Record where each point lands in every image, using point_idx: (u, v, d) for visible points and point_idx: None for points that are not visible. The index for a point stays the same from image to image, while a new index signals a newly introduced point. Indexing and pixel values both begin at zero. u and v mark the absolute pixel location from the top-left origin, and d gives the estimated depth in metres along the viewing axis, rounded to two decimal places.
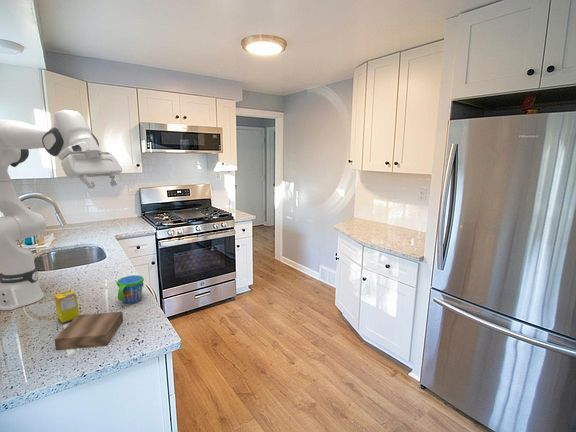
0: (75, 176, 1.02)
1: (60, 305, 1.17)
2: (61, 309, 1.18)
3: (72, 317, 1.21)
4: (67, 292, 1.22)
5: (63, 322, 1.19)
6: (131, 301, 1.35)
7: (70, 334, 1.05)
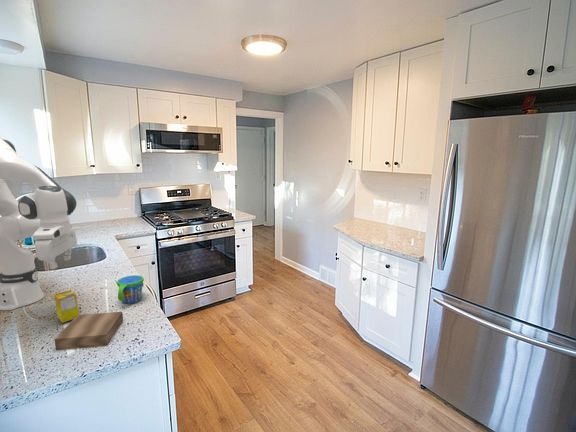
0: None
1: (60, 305, 1.17)
2: (61, 309, 1.18)
3: (72, 317, 1.21)
4: (67, 292, 1.22)
5: (63, 322, 1.19)
6: (131, 301, 1.35)
7: (70, 334, 1.05)
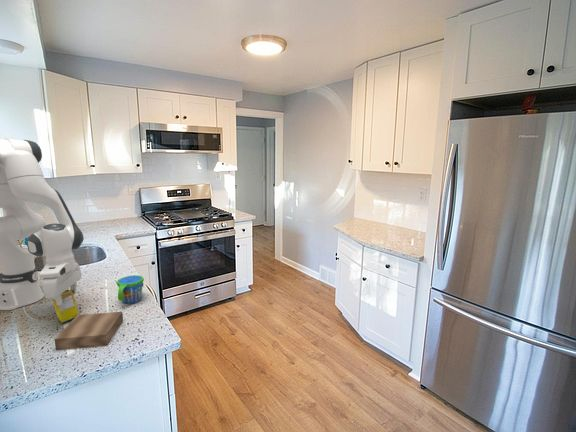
0: None
1: (58, 305, 1.17)
2: (59, 309, 1.18)
3: (71, 316, 1.21)
4: (64, 292, 1.21)
5: (63, 322, 1.19)
6: (131, 301, 1.35)
7: (70, 334, 1.05)
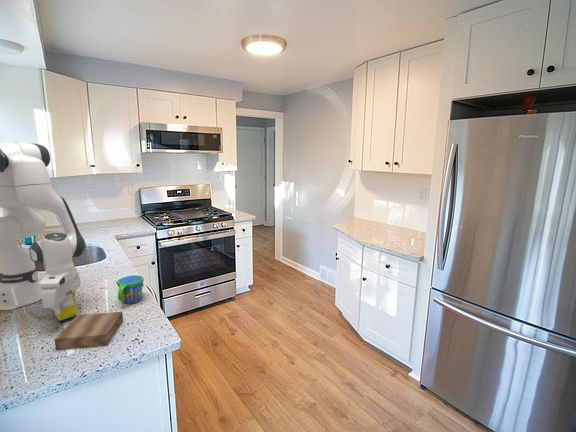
0: None
1: None
2: None
3: (69, 315, 1.21)
4: None
5: (60, 320, 1.19)
6: (131, 301, 1.35)
7: (70, 334, 1.05)
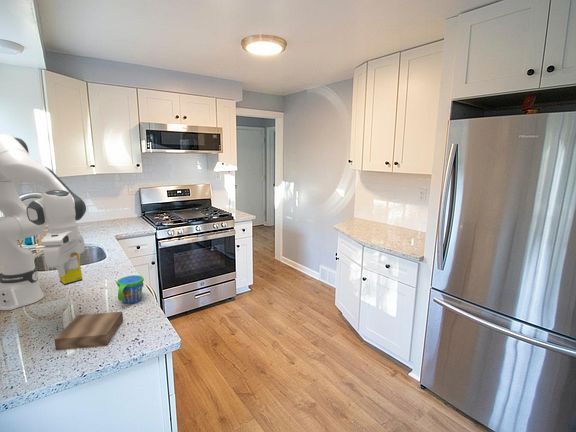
0: None
1: None
2: None
3: (75, 278, 1.13)
4: None
5: (65, 283, 1.11)
6: (131, 301, 1.35)
7: (70, 334, 1.05)
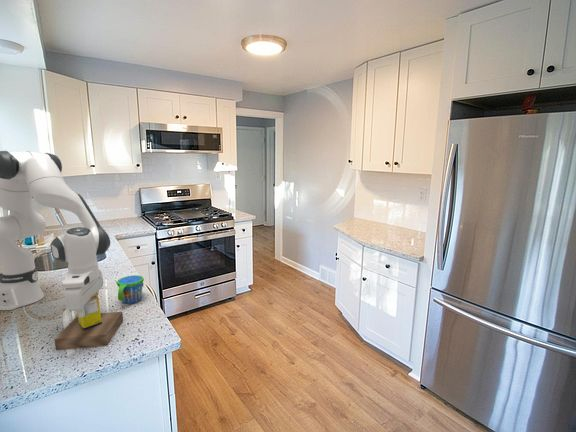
0: None
1: None
2: None
3: (94, 322, 1.10)
4: None
5: (84, 328, 1.08)
6: (131, 301, 1.35)
7: (70, 334, 1.05)
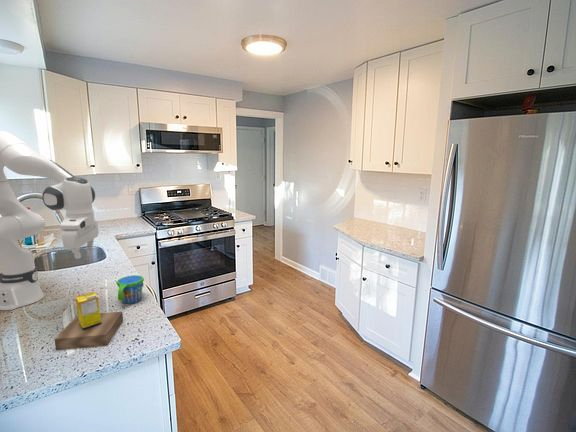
0: None
1: (81, 309, 1.07)
2: (82, 313, 1.07)
3: (93, 322, 1.10)
4: (89, 294, 1.11)
5: (84, 328, 1.08)
6: (131, 301, 1.35)
7: (70, 334, 1.05)
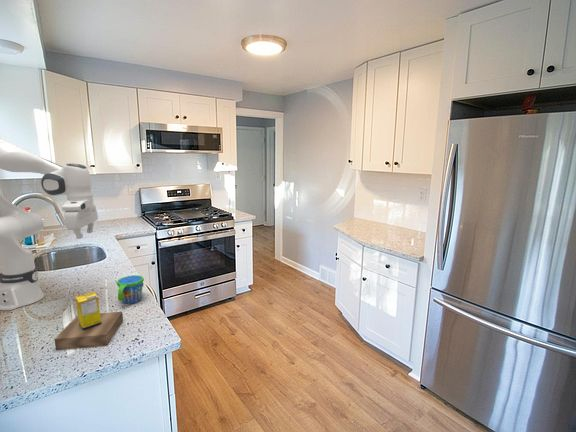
0: None
1: (81, 309, 1.07)
2: (82, 313, 1.07)
3: (93, 322, 1.10)
4: (89, 294, 1.11)
5: (84, 328, 1.08)
6: (131, 301, 1.35)
7: (70, 334, 1.05)
